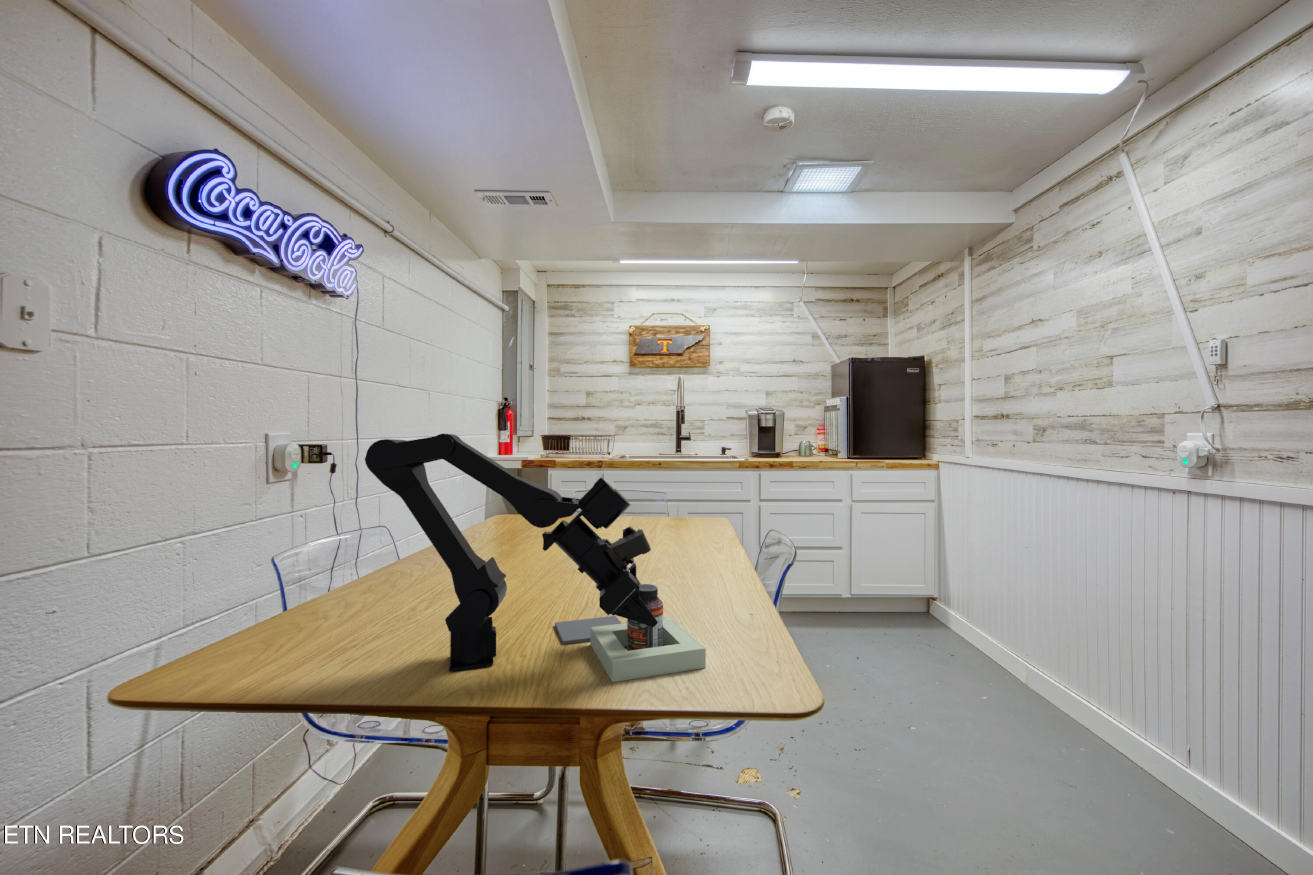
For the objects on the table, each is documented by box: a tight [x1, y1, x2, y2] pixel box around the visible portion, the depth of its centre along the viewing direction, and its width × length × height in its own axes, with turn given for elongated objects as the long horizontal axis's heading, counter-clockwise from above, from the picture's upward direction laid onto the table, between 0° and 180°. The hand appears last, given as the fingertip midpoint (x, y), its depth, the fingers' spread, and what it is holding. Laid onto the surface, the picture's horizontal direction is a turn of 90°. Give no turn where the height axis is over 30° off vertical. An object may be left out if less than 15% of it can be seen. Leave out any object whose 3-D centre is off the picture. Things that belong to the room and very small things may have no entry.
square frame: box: [590, 617, 707, 683], centre depth 84 cm, size 15×15×3 cm
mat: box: [554, 615, 623, 646], centre depth 95 cm, size 12×10×1 cm
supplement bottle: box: [626, 583, 664, 651], centre depth 84 cm, size 6×6×11 cm
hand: (653, 615), depth 84 cm, fingers open, 9 cm apart
